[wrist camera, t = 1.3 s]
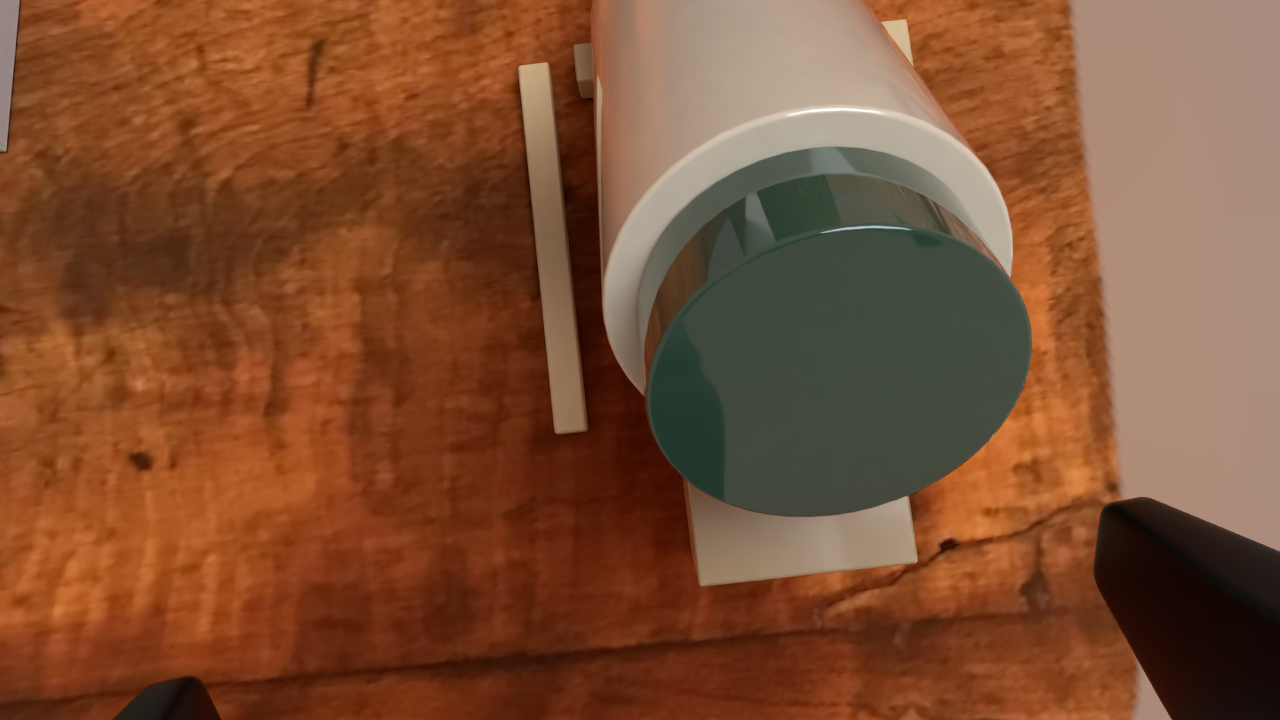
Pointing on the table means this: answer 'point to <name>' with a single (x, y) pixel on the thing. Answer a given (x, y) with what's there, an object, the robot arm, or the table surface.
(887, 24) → the jar stand
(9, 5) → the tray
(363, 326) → the table surface
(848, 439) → the jar
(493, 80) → the table surface
